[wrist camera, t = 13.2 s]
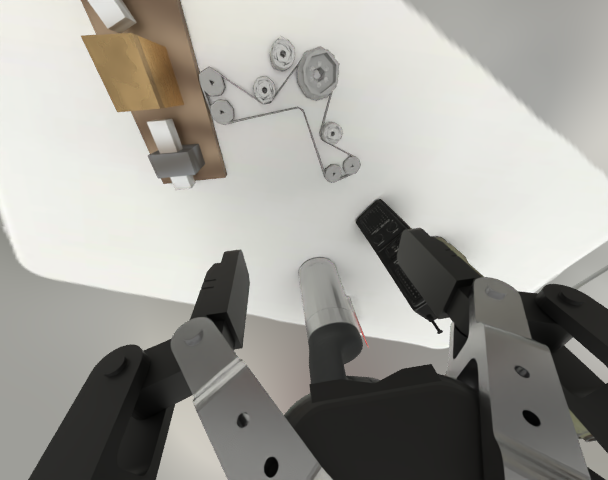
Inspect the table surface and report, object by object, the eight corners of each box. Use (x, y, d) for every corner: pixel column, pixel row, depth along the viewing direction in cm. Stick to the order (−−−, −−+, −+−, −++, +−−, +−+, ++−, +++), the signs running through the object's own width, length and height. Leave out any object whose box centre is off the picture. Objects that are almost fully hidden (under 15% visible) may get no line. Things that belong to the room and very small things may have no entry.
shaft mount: (226, 174, 37) (218, 189, 32) (167, 180, 37) (147, 197, 31) (155, -90, 22) (114, -154, 16) (50, -88, 21) (-32, -153, 16)
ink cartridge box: (349, 319, 66) (360, 351, 58) (340, 297, 60) (351, 329, 52) (357, 317, 66) (369, 348, 58) (349, 295, 60) (361, 326, 52)
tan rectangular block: (184, 104, 30) (160, 108, 23) (151, 107, 30) (117, 112, 23) (165, 47, 27) (131, 32, 20) (128, 49, 26) (80, 35, 20)
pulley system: (228, -22, 26) (193, 108, 32) (223, -44, 22) (184, 109, 28) (390, 108, 37) (341, 187, 43) (406, 109, 33) (350, 195, 39)
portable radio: (382, 192, 43) (482, 285, 23) (399, 209, 46) (502, 305, 25) (353, 220, 46) (418, 325, 25) (370, 234, 49) (442, 339, 28)
